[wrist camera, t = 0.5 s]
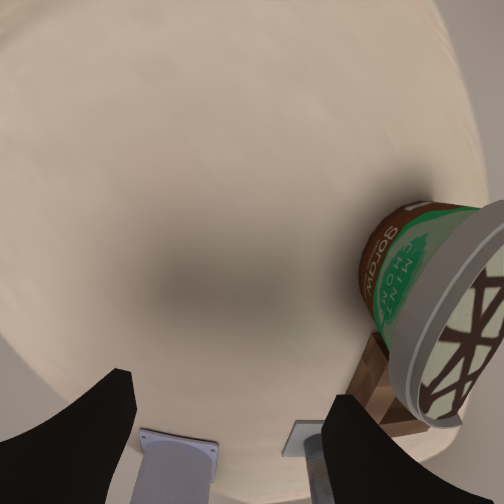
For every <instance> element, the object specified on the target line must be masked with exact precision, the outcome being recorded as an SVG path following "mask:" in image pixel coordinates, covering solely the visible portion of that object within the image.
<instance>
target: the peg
mask: <svg viewBox="0 0 504 504" xmlns="http://www.w3.org/2000/svg"><path fill="white" fill-rule="evenodd" d="M303 445H304V452H305V458H306V465H307V472H308V478H309V485H310V492H311V499H312V504H335V502H334V497H333V493H332V489H331V484H330V480H329V476H328V472H327V468H326V463H325V459H324V454H323V447H322V436H321V433H318V434H314V435H312V436H310V437H308V438H307V439H305V441H304V443H303Z"/></svg>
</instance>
